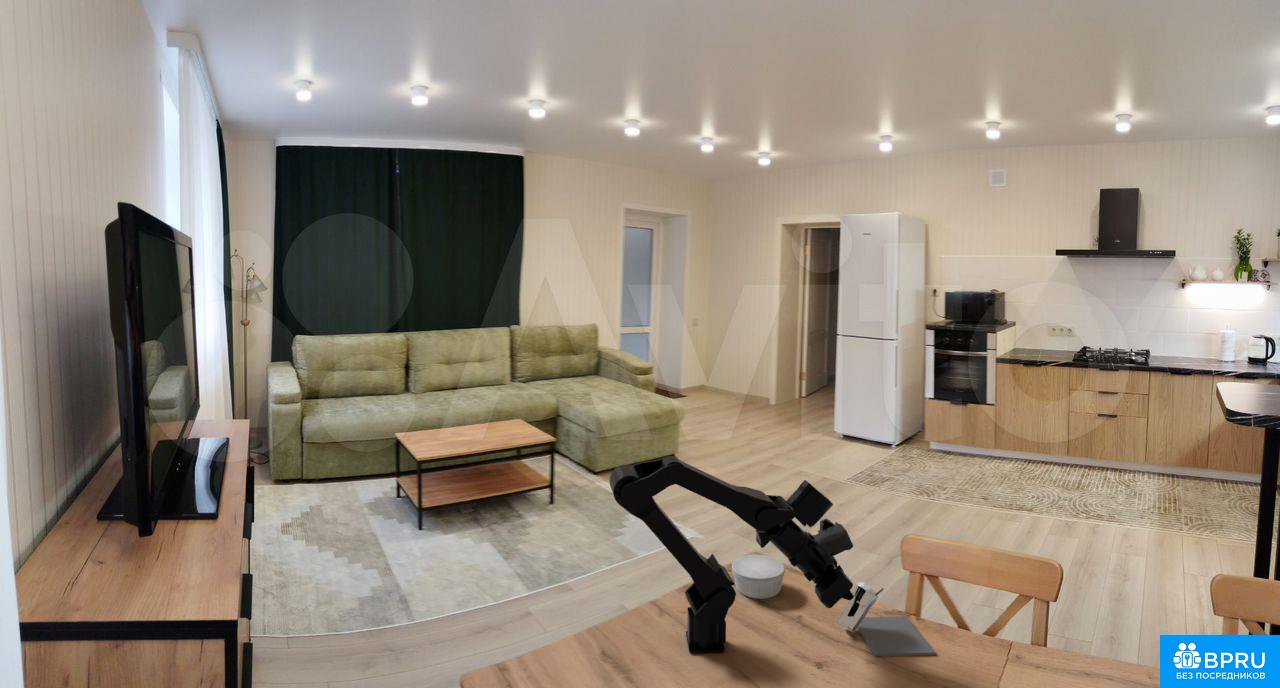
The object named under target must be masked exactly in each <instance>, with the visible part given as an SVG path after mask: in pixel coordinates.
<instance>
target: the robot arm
mask: <svg viewBox="0 0 1280 688" xmlns="http://www.w3.org/2000/svg"><path fill="white" fill-rule="evenodd" d="M608 483H609V487H610V489H611V492H612V495H613V498H614V500H615V502H616V503H617V504H618V505H619V506H620V507H621V508H623V509H624V510H625V511H626V512H628V513H629V514H631V516H633V517H636V518H637V519H639V520H641V521H642V522H643V523H644V524H645V525H646V527H648V528H649V530H650V531H651V532H652V533H653V535H654V536H655V537H656V538H657V539H658V540H659V542H661V543H662V545H663V546H664V547H665V548H666V549H667V550H668V551H669V553H670V554H671V555H672V556H673V557H674V559H675V560H676V561H677V563H678V564H679V565H681V567H682V568H683V569H684V570H685V571H686V573H687V574H689V575H688V576H689V577H690V578H691V580H692V582H693V583H692V584H691V585H690V586H689V587H688V588H687V589H686V590H685V591H684V595H685V598H686V600H687V602H688V604H689V605H690V607H689V606H688V607H687V619H686V621H687V625H686V626H687V630H686V632H685V636H686V641H687V642H686V644H687V648H688V649H687V650H688V653H690V654H701V653H702V654H703V653H704V654H705V653H706V654H707V653H711V654H713V653H725V646H724V645H725V644H726V642H727V622H726V617H727V614H728V612H729V609H730V608H731V607H732V606H733V604H734V603H735V600H736V596H737V592H736V590H735V588H734V585H735V581H734V580H733V579H732V577H731V575H730V573H728V570H727V568H726V567H725V566H723V565H722V564H720V563H719V562H718V560H717V558H716V557H715V555H714V554H713V553H712V554H711V555H710V556H708V558H707V557H705V556H703V555H702V554H701V553H699V551H698V550H697V548H695V546H694V545H693V544H692V543H691V542H690V541H689V539H688V538H687V537H686V536H685V535H684V533H683V532H682V531H681V530H680V529H679V528H678V526H676V524H675V523H674V522H673V521H672V519H671V518H670V517H669V516H668V515H667V514H666V512H665V511H664V510H663V509H662V508H661V507H660V505H659V504H658V503H657V501H656V500H655V498H654V497H655V496H657V495H658V494H659V493H661V492H663V491H664V490H666V489H667V488H669V487H672V486H674V485H677V486H679V487H681V488H683V489H686V490H688V491H690V492H692V493H694V494H696V495H699V496H701V497H702V498H704V499H707V500H710V501H711V502H713V503H716V504H717V505H720V506H722V507H724V508H726V509H728V510H729V511H731V512H732V513H734V514H735V515H736V516H737V517H739V519H740V520H742V521H743V522H745V523H746V524H747V525H749V526H750V527H752V528H753V529H754V530H755V533H756V535H755V536H756V537H755V541H756V543H757V544H758V545H759V547H760V548H762V549H763V548H765V547H766V546H767V545H768V544H769V543H771V544H772V545H773V546H774V547H775V548H776V549H778V551H780V552H781V554H783V555H784V556H785V557H786V558H787V559H788V561H789V563H790V565H792V567H794V568H795V567H796V568H797V569H798V570H799V571H801V572H802V573H803V576H804V577H805V579H806V580H808V582H811V581H812V583H814V584H815V585H814V593H815V594H816V597H817V598H818V600H819V602H820V603H822V605H823V606H825V608H827V609H831V608H833V607H834V606H835V605H836V604H837V603H838V602H839V601H840V600H841V599H844V600H847V601H849V600H852V599H853V598H854V596H853V594H852V591H851V590H852V589H853V587H854V583H853V582H852V581H851V579H850V578H849V576H848V575H847V574H846V572H845V571H844V569H843V568H842V566H841V565H840V564H838V561H837V559H836V558H835V556H837V555H839V554H841V553H844V552H846V551H850V550H852V549H853V548H854V544H853V542H852V539H851V537H850V535H849V532H848V531H847V530H846V528H845V527H844V526H843V524H841V523H838V522H837V521H836V522H834V523H833V522H832V521H831V520H830V519H828V518H827V517H826V518H824V519H822V517H823V516H825V515H826V513H827V512H829V510H830V509H831V508H832V507H833V506H834V503H833V502H832V501H831V500H830V499H829V498H828V497H827V496H826V495H825V494H823V493H822V492H821V491H820V490H819V489H817V488H816V487H814V486H813V485H812V484H811V483H810V482H809V481H807V480H803V481H802V482H801V483H800V484H799V485H798V487H797V489H796V490H795V491H794V492H793V493H792V494H791V495H790V496H789V497H788V498H787V499H785V498H784V497H783V496H781V495H773V494H772V495H771V494H766V493H764V492H763V491H761V490H758V489H755V488H751V487H747V486H739V485H735V484H731V483H729V482H727V481H724V480H722V479H720V478H718V477H716V476H714V475H712V474H709V473H707V472H705V470H701V469H700V468H697V467H695V466H694V465H691V464H688V463H687V462H684V461H682V460H681V459H679V458H678V457H677V456H675V455H667V456H664V457H662V458H661V457H660V459H659V458H658V459H654V460H647V461H642V462H641V461H640V462H638V463H635V464H632V465H631V464H623V465H620V466H618V467H616V468H614V469H613V471H612V472H611V474H610V475H609V482H608ZM794 519H796V520H797V522H799V523H800V524H801V525H802V526H803V527H806V526H808V527H809V528H810V529H811V528H812V527H814V526H816V524H817V523H818V522H819V529H818V530H817V532H818V533H817V534H812V533H810V531H805V530H804V529H802V528H801V527H800V526H799V525H798V524H797V523H796V522H795V521H794Z"/></svg>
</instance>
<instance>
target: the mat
mask: <svg viewBox="0 0 1280 688" xmlns="http://www.w3.org/2000/svg"><path fill="white" fill-rule="evenodd" d="M856 630H858V633H860V635H861V637H862V638H863V640H864V642H865V643H866V645H867V646H868V647H869V649H870V651H871V653H872V654H873V656H874V657H900V656H901V657H906V656H910V657H911V656H936V651H935V650H934V649H933V647H932V646H931V645H930V644H929V642H928V641H927V640H926V638H925V637H924V636H923V635H922V633H921V632H920V631H919V629H918V628H917V627H916V626H915V624H914V623H913V622H912V621H911V619H910V618H909V617H908V616H865V617H864V619H863V620H862V621H861V623H860V624H859V626H858V627H857V629H856Z"/></svg>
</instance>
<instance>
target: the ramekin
mask: <svg viewBox="0 0 1280 688" xmlns="http://www.w3.org/2000/svg"><path fill="white" fill-rule="evenodd" d="M785 569H786V567H785V565H784V564H783V563H782V562H781V561H780V560H778V559H776V558H774V557H771V556H768V555H762V554H750V555H749V554H747V555H743V556H740V557H738V558H736V559H735V560H734V561H733V562H732V564H731V571H732V573H733V578H734V580H733V581H734V583H735V584H734V585H735V588H736V589H737V590H738V591H739V593H740V594H742V595H743V596H746V597H748V598H751V599H755V600H756V599H758V600H765V599H767V600H768V599H770V598H773V597H775V596H776V595H778V594H779V593H780V591H781V589H782V585H783V580H784V576H785V573H786V570H785Z"/></svg>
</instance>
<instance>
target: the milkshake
mask: <svg viewBox="0 0 1280 688" xmlns="http://www.w3.org/2000/svg"><path fill="white" fill-rule="evenodd" d="M884 590H885V588H883V587H882V588H881V589H880V590H878V591H876V590H875V589H874V588H873V587H872V586H871V585H868V583H866V582H864V581H859V582H856V584H855V586H854V588H853V590H852V591H851V593H852V594H853V596H854V598H853V599H852V600H847V603H846V605H845V607H844V609H843V611H842V613H841V615H840V617H839V619H838V621H837V623H838V624H840V625H842V626H843V627H844V628H846V629H847V630H848V631H850V632H852V633H855V631H856V630H858V629H857V627H858V626H859V624H860V623H861V621H862V620H863V619H864V617H867V614H868V613H869V612H870V610H871V609H872V607H874V605H875V604H876V602H877V601H878V599H879V598H880V597H879V595H880V594H881V593H882V592H883V591H884Z"/></svg>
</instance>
